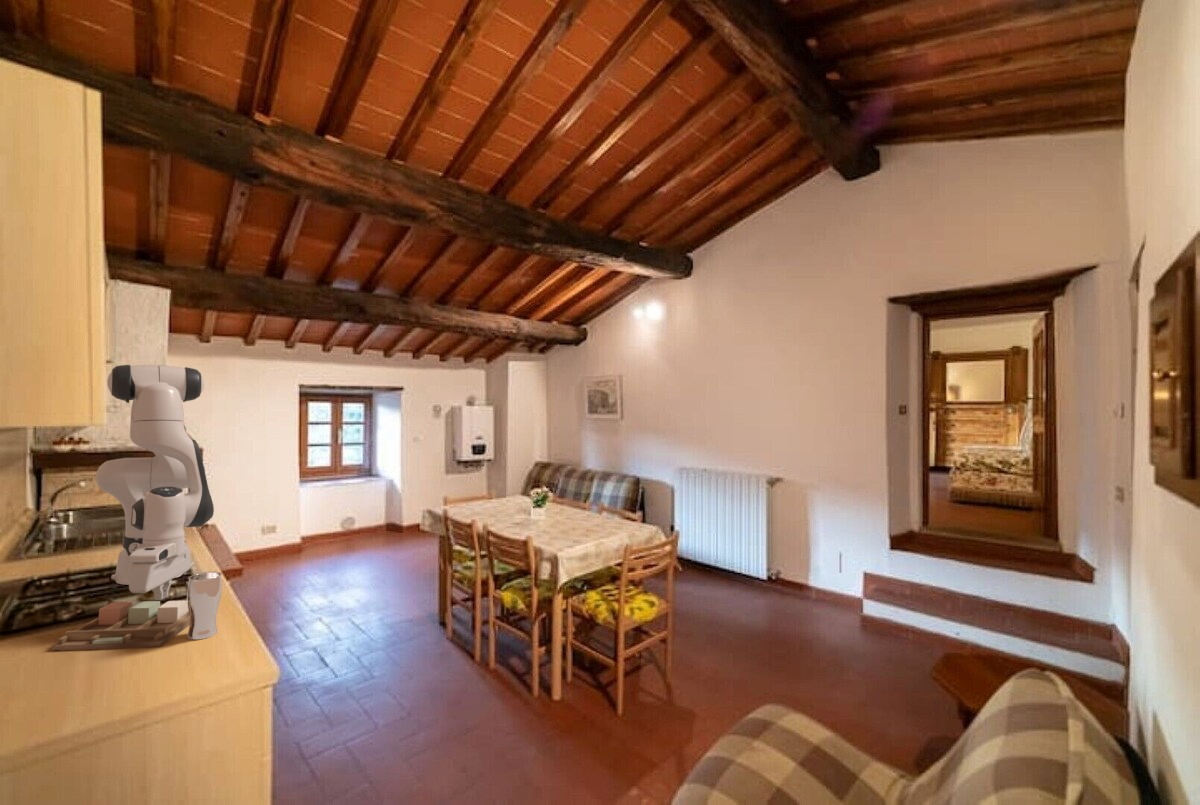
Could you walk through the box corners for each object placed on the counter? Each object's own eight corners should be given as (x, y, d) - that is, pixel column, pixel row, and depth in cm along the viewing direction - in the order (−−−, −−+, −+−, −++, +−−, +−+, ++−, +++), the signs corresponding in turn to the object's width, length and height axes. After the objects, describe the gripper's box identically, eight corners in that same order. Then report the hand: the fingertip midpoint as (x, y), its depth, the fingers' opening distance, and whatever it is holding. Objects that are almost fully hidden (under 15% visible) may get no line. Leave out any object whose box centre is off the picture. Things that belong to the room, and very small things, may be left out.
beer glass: (183, 643, 126) (187, 582, 126) (185, 632, 132) (188, 573, 132) (219, 636, 130) (222, 577, 130) (219, 626, 136) (222, 569, 136)
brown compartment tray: (108, 618, 137) (109, 606, 137) (202, 615, 141) (202, 604, 141) (51, 650, 119) (52, 637, 119) (160, 646, 124) (160, 633, 124)
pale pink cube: (168, 615, 137) (168, 600, 137) (187, 615, 138) (188, 600, 138) (157, 623, 133) (157, 607, 133) (176, 622, 134) (177, 607, 134)
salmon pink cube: (111, 617, 135) (112, 602, 135) (131, 616, 136) (132, 601, 136) (98, 624, 130) (99, 609, 130) (118, 624, 131) (119, 608, 131)
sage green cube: (139, 616, 136) (140, 601, 136) (159, 616, 137) (160, 601, 137) (128, 623, 132) (128, 608, 132) (148, 623, 133) (149, 607, 133)
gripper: (174, 538, 150) (171, 585, 150) (124, 558, 130) (121, 613, 130) (198, 537, 152) (196, 584, 151) (152, 557, 132) (149, 612, 131)
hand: (161, 598), depth 141 cm, fingers closed
